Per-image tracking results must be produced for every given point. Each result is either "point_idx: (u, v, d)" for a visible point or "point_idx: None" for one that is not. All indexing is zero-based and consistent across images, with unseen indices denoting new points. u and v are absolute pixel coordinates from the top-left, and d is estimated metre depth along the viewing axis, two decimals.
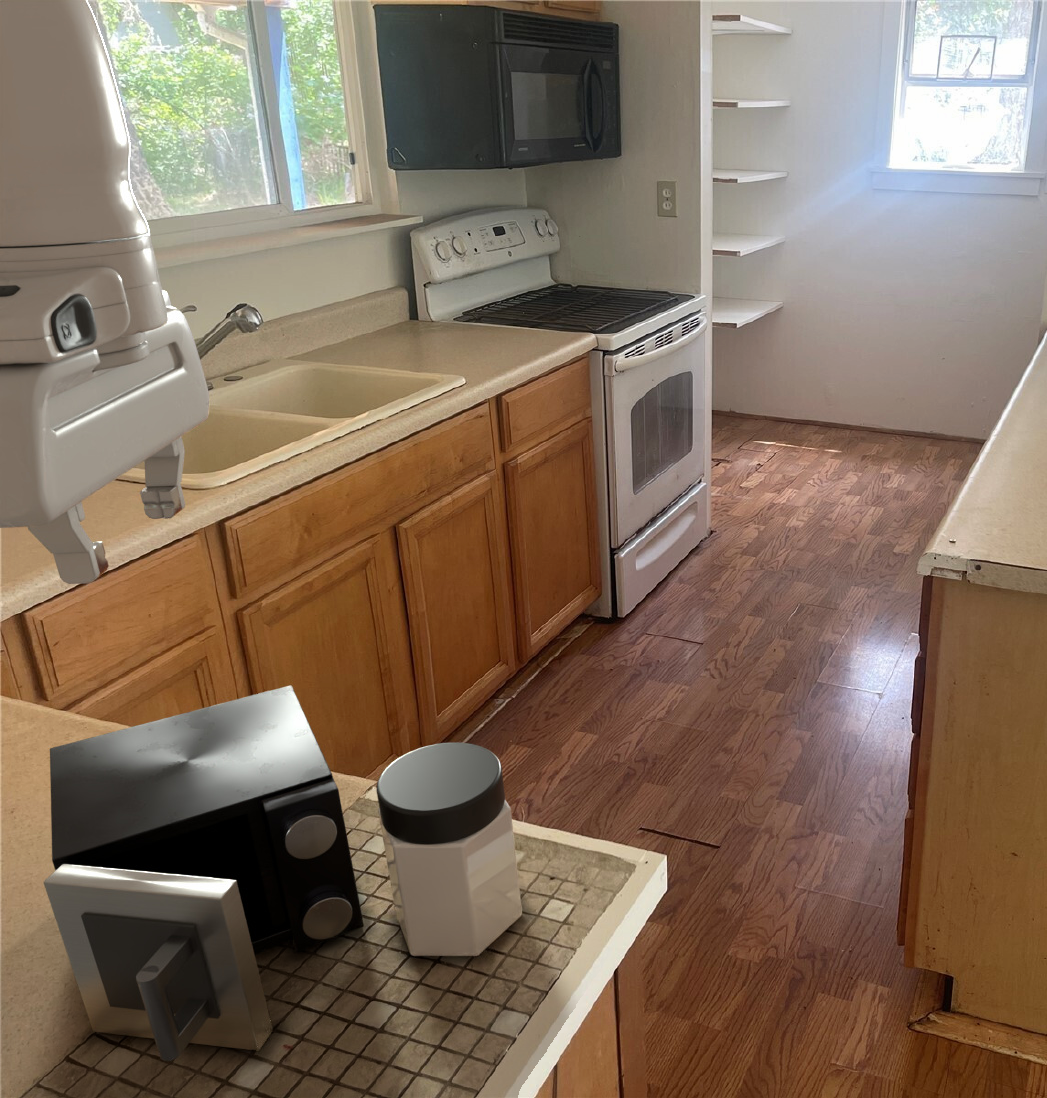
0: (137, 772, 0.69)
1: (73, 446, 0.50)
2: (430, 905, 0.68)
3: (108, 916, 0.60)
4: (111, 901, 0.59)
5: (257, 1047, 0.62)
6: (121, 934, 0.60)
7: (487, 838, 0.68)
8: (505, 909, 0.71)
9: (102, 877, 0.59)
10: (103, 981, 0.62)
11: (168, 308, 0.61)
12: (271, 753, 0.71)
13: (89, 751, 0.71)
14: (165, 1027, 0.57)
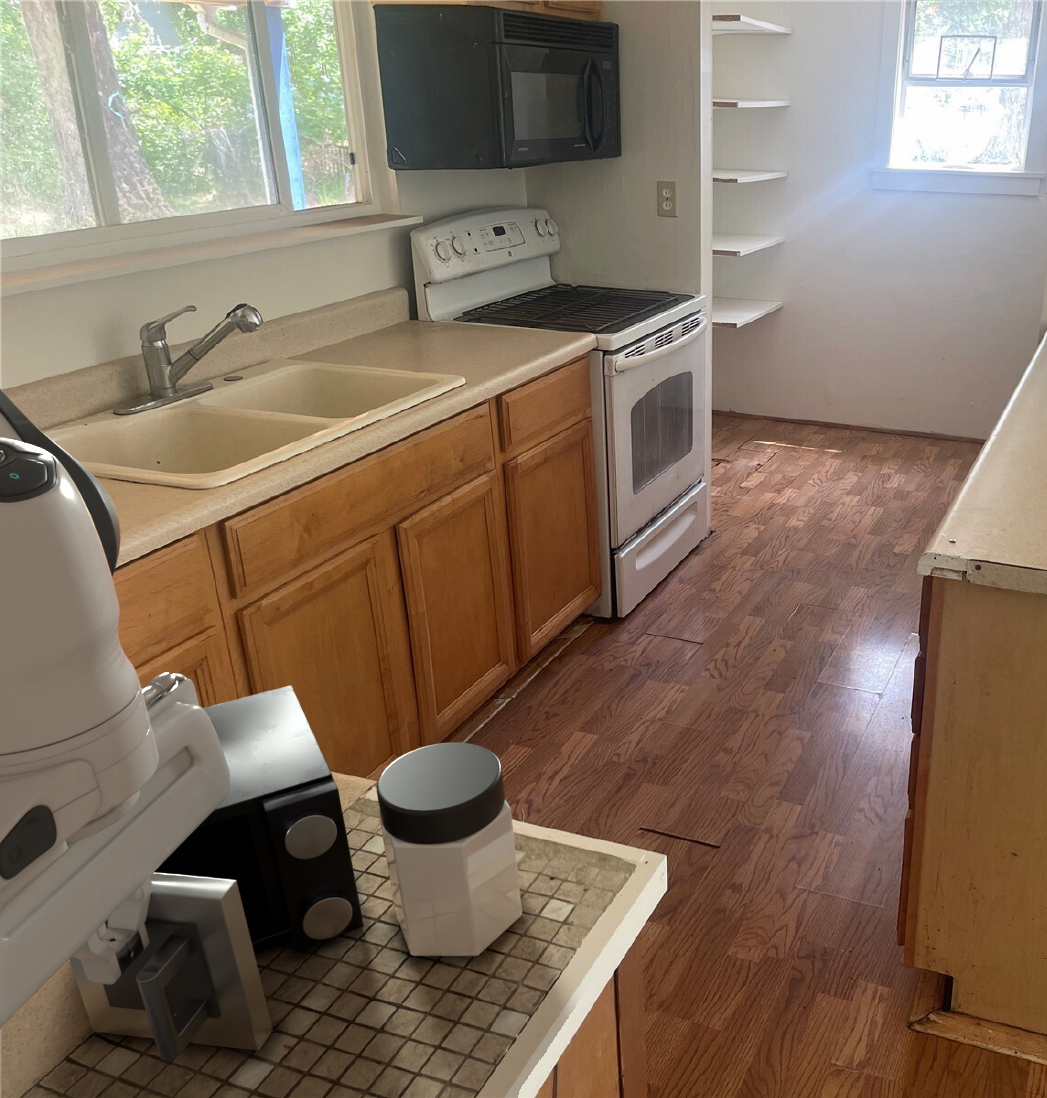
0: None
1: (33, 939, 0.49)
2: (430, 905, 0.68)
3: None
4: None
5: (257, 1047, 0.62)
6: None
7: (487, 838, 0.68)
8: (505, 909, 0.71)
9: None
10: None
11: (181, 712, 0.59)
12: (271, 753, 0.71)
13: None
14: (165, 1027, 0.57)
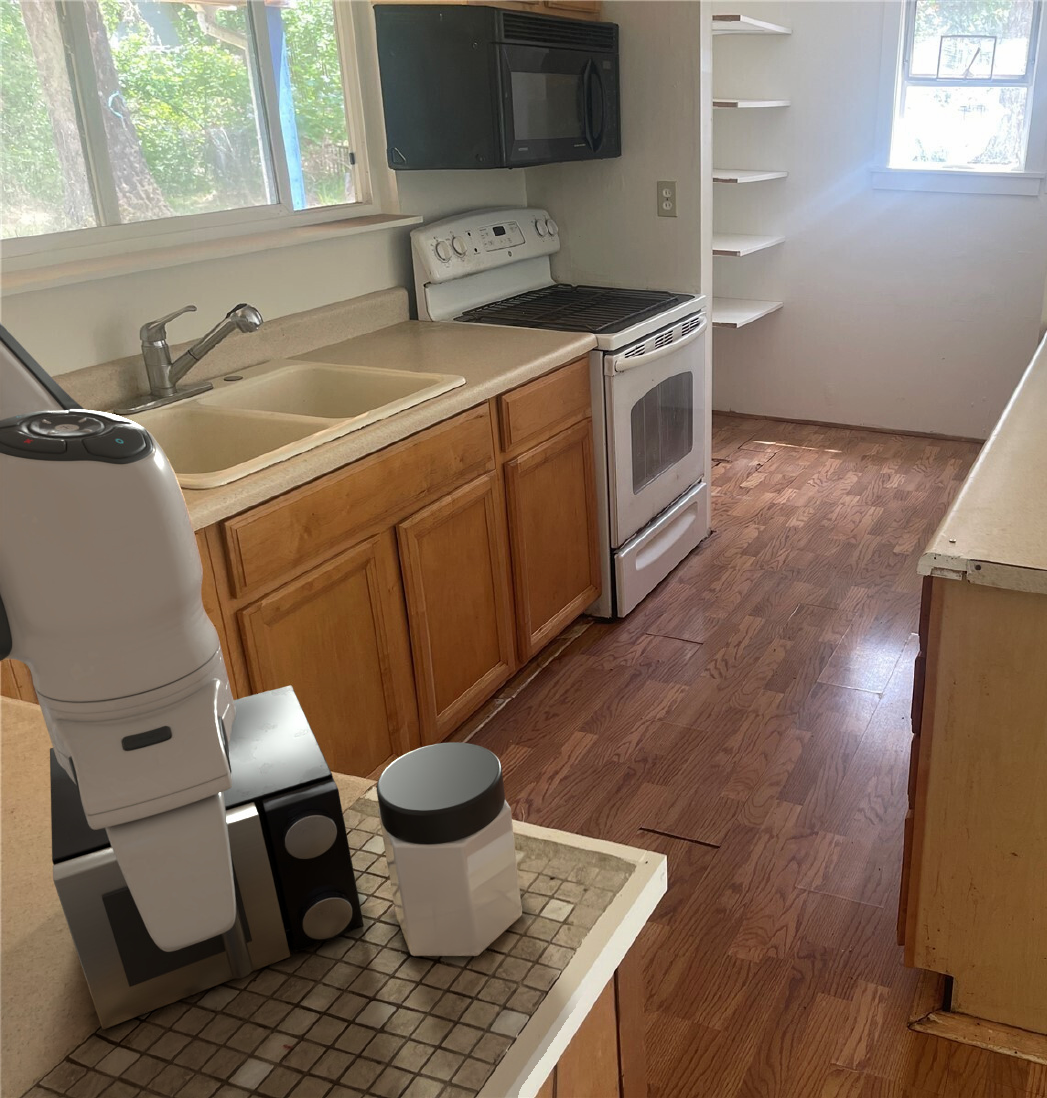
0: None
1: None
2: (430, 905, 0.68)
3: None
4: None
5: (289, 953, 0.69)
6: None
7: (487, 838, 0.68)
8: (505, 909, 0.71)
9: None
10: (123, 962, 0.63)
11: None
12: (271, 753, 0.71)
13: None
14: (243, 942, 0.63)
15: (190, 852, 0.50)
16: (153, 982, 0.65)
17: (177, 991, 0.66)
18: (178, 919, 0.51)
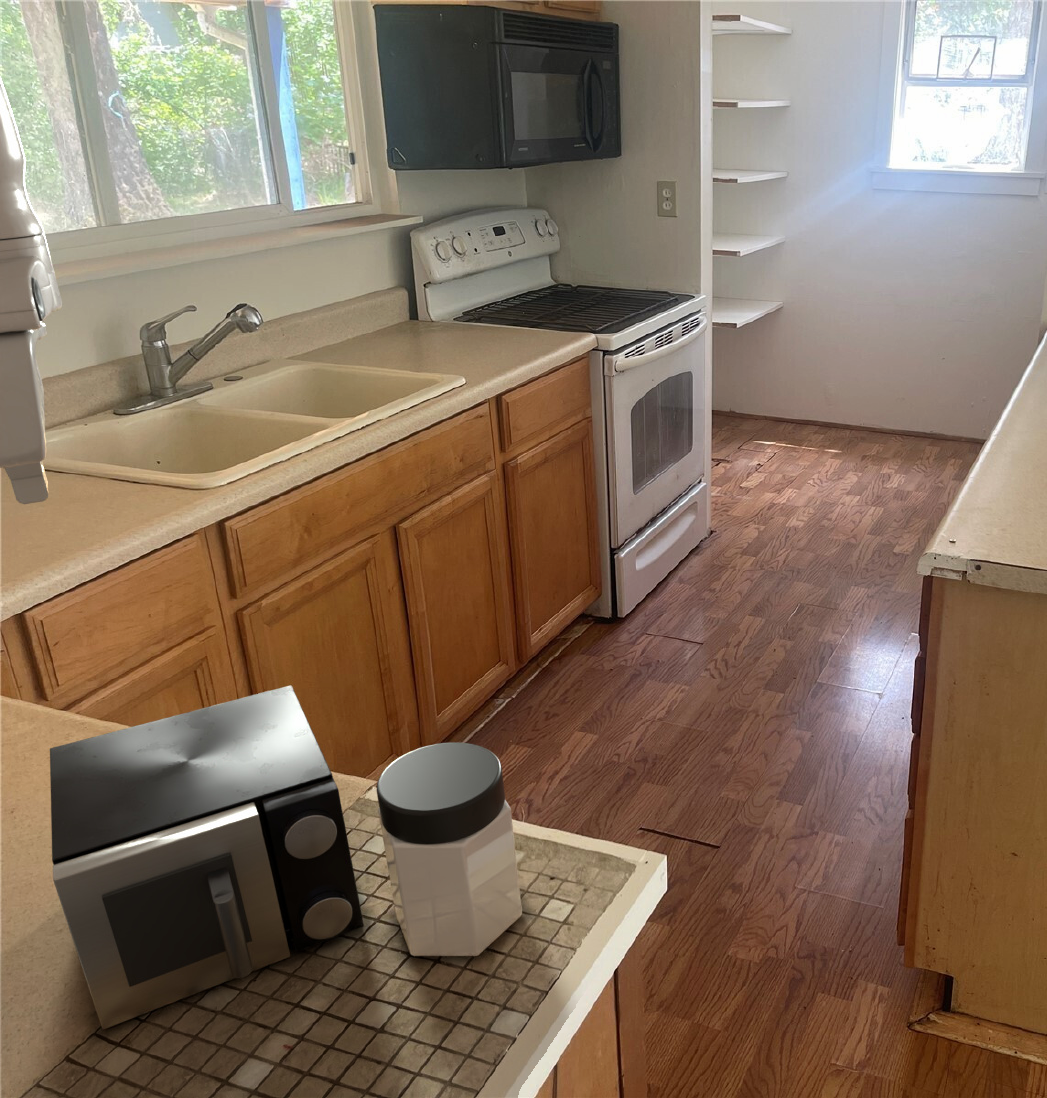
0: (137, 772, 0.69)
1: None
2: (430, 905, 0.68)
3: (132, 885, 0.62)
4: (137, 867, 0.62)
5: (289, 953, 0.69)
6: (149, 897, 0.63)
7: (487, 838, 0.68)
8: (505, 909, 0.71)
9: (115, 852, 0.61)
10: (123, 962, 0.63)
11: None
12: (271, 753, 0.71)
13: (89, 751, 0.71)
14: (243, 942, 0.63)
15: None
16: (153, 982, 0.65)
17: (177, 991, 0.66)
18: None
